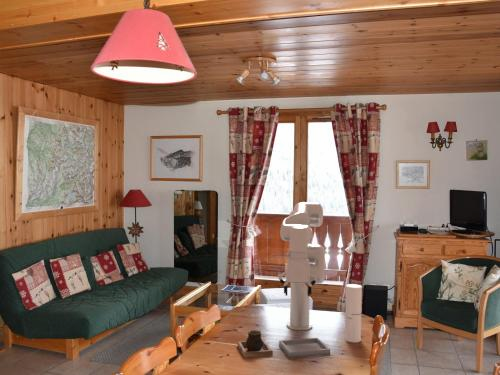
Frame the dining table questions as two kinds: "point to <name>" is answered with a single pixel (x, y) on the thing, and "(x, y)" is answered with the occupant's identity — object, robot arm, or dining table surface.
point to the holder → (255, 353)
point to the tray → (304, 347)
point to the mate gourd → (254, 341)
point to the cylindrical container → (353, 313)
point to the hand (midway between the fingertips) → (297, 295)
